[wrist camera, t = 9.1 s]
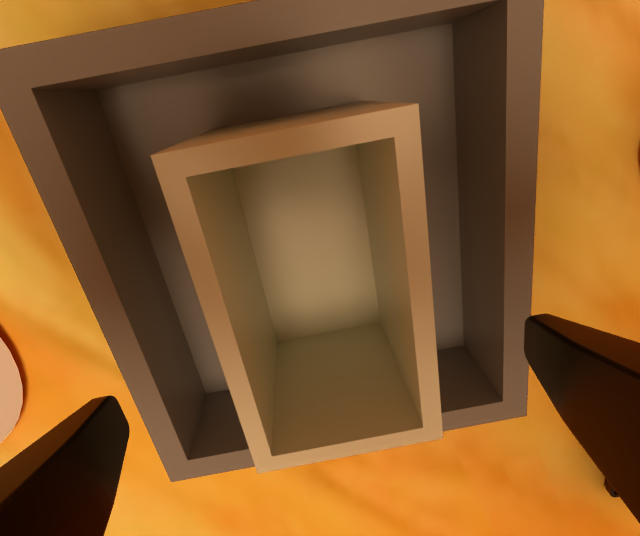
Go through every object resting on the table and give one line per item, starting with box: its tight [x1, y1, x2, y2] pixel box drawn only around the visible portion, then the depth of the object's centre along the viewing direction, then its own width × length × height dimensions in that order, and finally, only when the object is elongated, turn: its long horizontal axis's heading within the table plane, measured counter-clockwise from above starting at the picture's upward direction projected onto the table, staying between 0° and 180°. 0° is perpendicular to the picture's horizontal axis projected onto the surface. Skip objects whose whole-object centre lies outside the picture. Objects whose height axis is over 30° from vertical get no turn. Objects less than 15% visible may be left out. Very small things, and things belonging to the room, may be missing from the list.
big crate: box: [0, 0, 544, 482], centre depth 16 cm, size 15×16×5 cm
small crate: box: [150, 100, 443, 473], centre depth 14 cm, size 6×10×7 cm, turn 10°
